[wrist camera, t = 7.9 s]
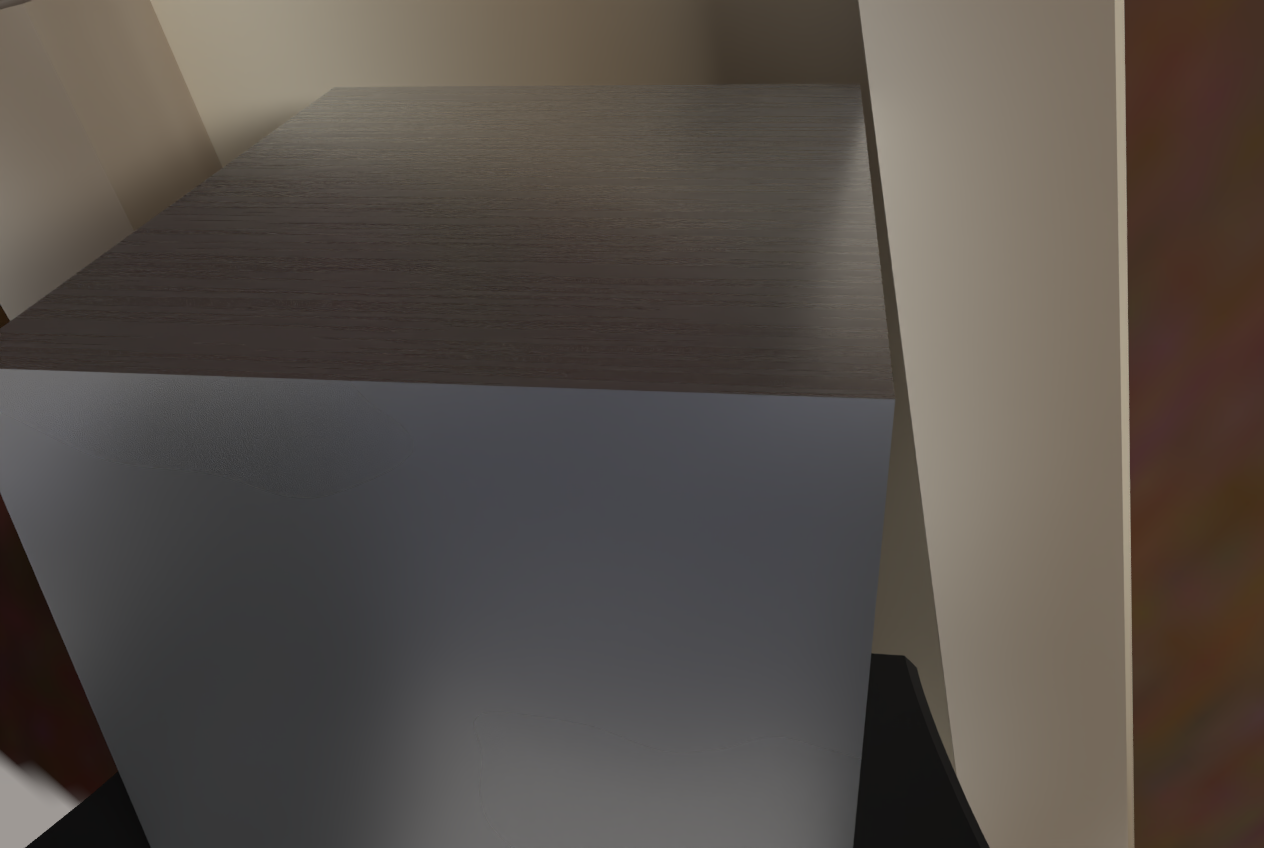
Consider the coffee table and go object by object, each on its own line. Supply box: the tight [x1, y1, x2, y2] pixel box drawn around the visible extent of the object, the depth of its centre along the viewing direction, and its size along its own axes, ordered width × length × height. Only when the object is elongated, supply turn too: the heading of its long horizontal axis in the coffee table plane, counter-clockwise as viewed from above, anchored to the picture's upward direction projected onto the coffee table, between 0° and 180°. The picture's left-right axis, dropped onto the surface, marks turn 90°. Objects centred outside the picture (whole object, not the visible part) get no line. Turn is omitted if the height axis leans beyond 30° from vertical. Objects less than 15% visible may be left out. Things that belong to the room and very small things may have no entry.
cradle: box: [0, 0, 1134, 848], centre depth 12 cm, size 10×13×3 cm
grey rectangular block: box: [0, 84, 895, 848], centre depth 9 cm, size 4×10×4 cm, turn 2°
